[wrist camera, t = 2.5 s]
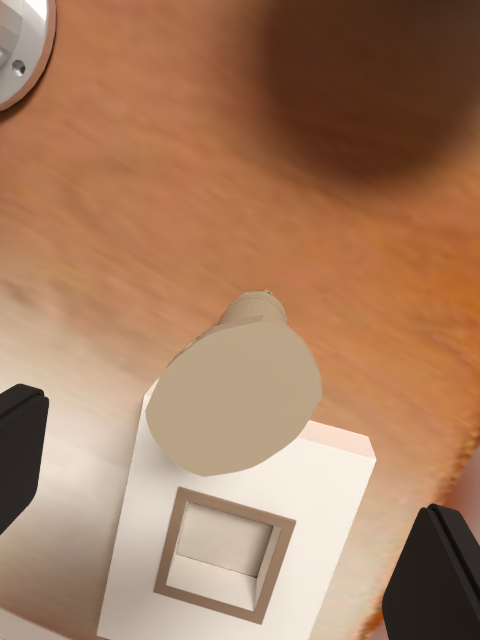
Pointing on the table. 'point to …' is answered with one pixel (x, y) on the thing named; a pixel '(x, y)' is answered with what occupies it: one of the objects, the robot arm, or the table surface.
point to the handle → (236, 391)
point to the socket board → (243, 500)
